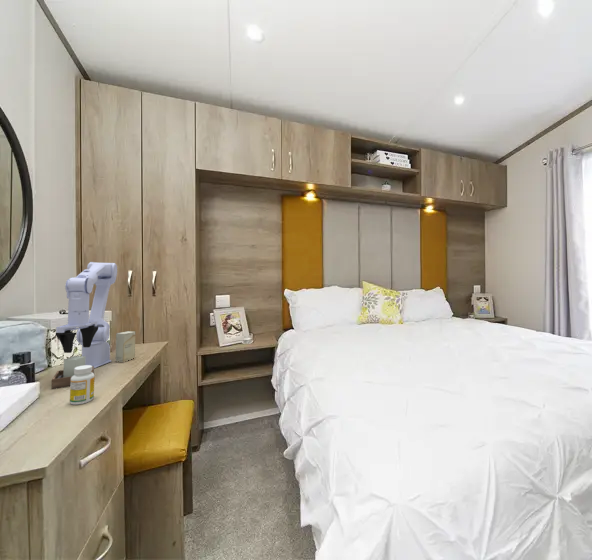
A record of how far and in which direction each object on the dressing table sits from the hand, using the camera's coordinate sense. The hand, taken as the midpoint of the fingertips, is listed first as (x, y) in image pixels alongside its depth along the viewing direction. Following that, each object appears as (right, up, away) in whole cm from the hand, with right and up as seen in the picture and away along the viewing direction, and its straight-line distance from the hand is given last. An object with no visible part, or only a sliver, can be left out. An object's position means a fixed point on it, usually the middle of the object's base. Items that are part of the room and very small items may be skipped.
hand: (77, 349), depth 93 cm
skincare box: (+3, -11, +22) cm, 24 cm away
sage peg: (+2, -10, -3) cm, 10 cm away
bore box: (+2, -10, -3) cm, 10 cm away
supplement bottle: (+16, -10, -18) cm, 26 cm away
